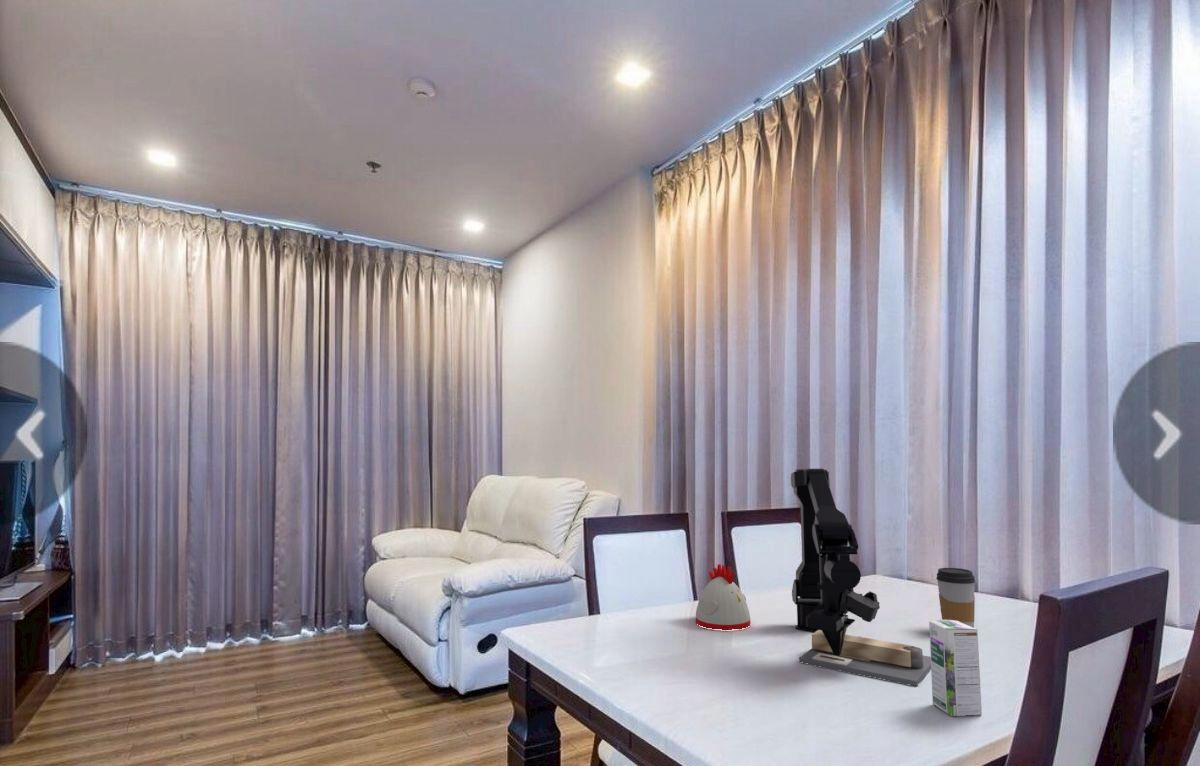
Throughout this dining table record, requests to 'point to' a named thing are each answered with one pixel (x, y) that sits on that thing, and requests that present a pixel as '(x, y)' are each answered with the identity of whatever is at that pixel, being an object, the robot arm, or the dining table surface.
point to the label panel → (868, 666)
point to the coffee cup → (956, 595)
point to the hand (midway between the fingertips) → (837, 655)
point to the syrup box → (955, 667)
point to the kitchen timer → (722, 603)
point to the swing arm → (873, 650)
